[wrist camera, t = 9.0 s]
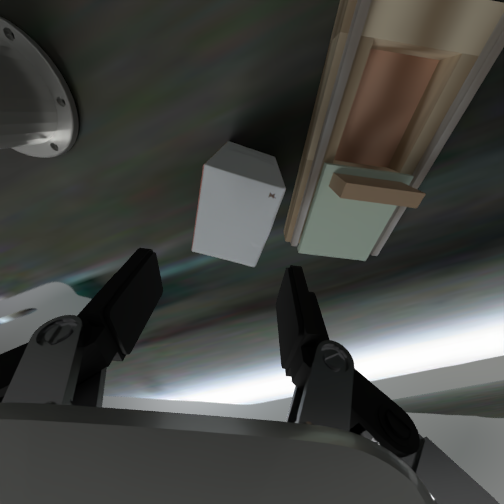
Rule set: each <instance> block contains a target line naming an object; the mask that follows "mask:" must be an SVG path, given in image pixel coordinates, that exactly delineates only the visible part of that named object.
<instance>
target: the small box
mask: <svg viewBox="0 0 504 504" xmlns="http://www.w3.org/2000/svg"><path fill="white" fill-rule="evenodd" d="M285 190H286V187H285V184H284V181H283V179H282V176H281V173H280V170H279V167H278V164H277V161H276V158H275V157H274V156H271V155H268V154H265V153H262V152H259V151H256V150H253V149H250V148H247V147H244V146H242V145H239V144H236V143H233V142H230V141H228V142H227V143H226V144H225V145H224V146H223V147H222V148H221V149H220V150H218V151H217V152H216V153H215V154H214V155H213V156H212V157H211V158H210V159H209V160H208V161H207V162H206V163H205V164H204V165H203V171H202V178H201V185H200V192H199V199H198V206H197V214H196V221H195V228H194V236H193V243H192V251H193V252H197V253H201V254H205V255H209V256H213V257H217V258H221V259H225V260H229V261H233V262H237V263H240V264H244V265H248V266H251V267H255V266H256V264H257V261H258V259H259V257H260V254H261V252H262V249H263V247H264V245H265V242H266V240H267V238H268V236H269V234H270V231H271V228H272V226H273V223H274V220H275V217H276V214H277V211H278V209H279V206H280V204H281V201H282V198H283V196H284V193H285Z"/></svg>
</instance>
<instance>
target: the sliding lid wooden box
mask: <svg viewBox="0 0 504 504" xmlns="http://www.w3.org/2000/svg"><path fill="white" fill-rule="evenodd" d="M503 47H504V3H502V2H497V1H492V0H340V3H339V7H338V11H337V15H336V19H335V23H334V27H333V31H332V36H331V40H330V44H329V48H328V52H327V56H326V60H325V64H324V68H323V72H322V76H321V80H320V85H319V89H318V93H317V97H316V101H315V105H314V109H313V113H312V117H311V121H310V125H309V129H308V134H307V138H306V142H305V146H304V150H303V154H302V158H301V162H300V166H299V170H298V174H297V178H296V183H295V187H294V191H293V195H292V199H291V203H290V207H289V211H288V215H287V219H286V223H285V227H284V236H285V240H286V241H287V242H291V246H297V244H298V243H300V239H301V236H302V233H303V230H304V226H305V223H306V220H307V217H308V214H309V210H310V207H311V204H312V201H313V197H314V194H315V191H316V188H317V184H318V181H319V178H320V175H321V172H322V168H323V165H324V162H325V163H332V164H339V165H346V166H353V167H360V168H367V169H374V170H382V171H389V172H396V173H403V174H409V175H411V176H414V177H413V179H412V181H411V183H410V184H409V186H411V187H413V188H415V189H418V188H419V186H420V184H421V183H422V181H423V179H424V178H425V176H426V174H427V173H428V171H429V169H430V168H431V166H432V164H433V163H434V161H435V159H436V158H437V156H438V154H439V153H440V151H441V150H442V148H443V146H444V145H445V143H446V141H447V140H448V138H449V136H450V135H451V133H452V131H453V130H454V128H455V126H456V125H457V123H458V121H459V120H460V118H461V116H462V115H463V113H464V112H465V110H466V108H467V107H468V105H469V103H470V102H471V100H472V98H473V97H474V95H475V93H476V92H477V90H478V88H479V87H480V85H481V83H482V82H483V80H484V78H485V77H486V75H487V74H488V72H489V70H490V69H491V67H492V65H493V64H494V62H495V60H496V59H497V57H498V55H499V54H500V52H501V50H502V49H503ZM405 209H406V207H404V206H397V207H396V209H395V210H394V212H393V214H392V216H391V217H390V219H389V221H388V223H387V224H386V226H385V228H384V230H383V231H382V233H381V235H380V237H379V238H378V240H377V242H376V244H375V245H374V247H373V249H372V251H371V252H370V254H371V255H374V256H377V255H378V254H379V252H380V250H381V249H382V247H383V245H384V244H385V242H386V240H387V239H388V237H389V235H390V234H391V232H392V231H393V229H394V227H395V226H396V224H397V222H398V221H399V219H400V217H401V216H402V214H403V212H404V211H405Z"/></svg>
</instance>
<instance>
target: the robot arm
mask: <svg viewBox="0 0 504 504" xmlns="http://www.w3.org/2000/svg"><path fill="white" fill-rule="evenodd" d="M78 127H79V122H78V113H77V109H76V106H75V102H74V99H73V97H72V94H71V92H70V90H69V87H68V85H67V83H66V82H65V80H64V78H63V76H62V75H61V73H60V71H59V70H58V68H57V67H56V66H55V64H54V63H53V61H52V60H51V59H50V57H49V56H48V55H47V54H46V53H45V52H44V51H43V49H42V48H41V47H40V46H39V45H38V44H37V43H36V42H35V41H34V40H33V39H32V38H31V37H29V36H28V35H27V34H26V33H25V32H24V31H23V30H21V29H20V28H18V27H17V26H16V25H14V24H13V23H11V22H10V21H8V20H7V19H5V18H3V17H1V16H0V149H4V148H12V149H14V150H16V151H18V152H21V153H23V154H26V155H30V156H34V157H42V158H48V157H54V156H58V155H61V154H64V153H66V152H67V151H68V150H70V149H71V148H72V146H73V145H74V143H75V141H76V138H77V135H78ZM162 292H163V287H162V282H161V276H160V271H159V266H158V261H157V256H156V253H155V252H153V251H152V249H145V248H139V249H137V251H136V252H135V253H134V254H133V255H132V256H131V257H130V258H129V260H128V261H127V262H126V263H125V264H124V265H123V266H122V267H121V268H120V270H119V271H118V272H117V273H115V274H114V275H113V277H112V278H111V279H110V280H109V281H108V282H107V283H106V284H105V285H104V287H103V288H102V289H101V290H100V291H99V292H98V293H97V294H96V295H95V297H94V298H93V299H92V300H91V301H90V302H89V303H88V304H87V305H86V307H85V308H84V309H83V310H82V311H81V312H80V313H79V314H78V315H77V316H75V315H64V316H60V317H57V318H54V319H52V320H50V321H48V322H46V323H45V324H43V325H42V326H40V327H39V328H38V329H37V330H36V331H35V332H34V334H33V335H32V337H31V339H30V341H29V342H28V343H26V344H24V345H21V346H19V347H17V348H14V349H12V350H10V351H8V352H5V353H3V354H0V504H499V503H498V502H497V501H496V500H495V499H494V498H493V497H492V496H491V495H490V494H489V493H488V492H487V491H486V490H484V489H483V488H482V487H481V486H480V485H479V484H478V483H477V482H476V481H474V480H473V479H472V478H471V477H470V476H469V475H468V474H467V473H466V472H465V471H464V470H462V469H461V468H460V467H459V466H458V465H457V464H456V463H454V461H453V460H451V459H450V458H449V457H448V456H447V455H446V454H445V453H444V452H443V451H442V450H440V449H439V448H438V447H437V446H436V445H435V444H434V443H433V442H432V441H430V440H429V439H428V438H427V437H425V438H423V437H422V436H421V435H420V434H418V430H417V429H416V427H415V425H414V423H413V421H412V420H411V418H410V417H409V416H408V414H407V413H406V412H405V411H404V410H403V409H402V408H401V407H399V406H398V405H397V404H396V403H395V402H393V401H392V400H391V399H390V398H389V397H388V396H386V395H385V394H384V393H383V392H382V391H380V390H379V389H378V388H377V387H376V386H374V385H373V384H372V383H371V382H370V381H368V380H367V379H366V378H365V377H364V376H363V375H361V374H360V373H359V372H358V371H357V370H355V369H354V362H353V359H352V357H351V355H350V353H349V352H348V350H347V349H346V348H344V347H343V346H342V345H341V344H339V343H337V342H335V341H332V340H329V337H328V334H327V330H326V327H325V324H324V321H323V318H322V314H321V311H320V308H319V305H318V302H317V298H316V296H315V293H314V292H309V291H308V287H307V284H306V280H305V277H304V273H303V270H302V267H301V266H293V265H291V266H290V268H286V270H285V274H284V277H283V281H282V284H281V288H280V291H279V294H278V298H277V302H276V311H277V322H278V333H279V344H280V355H281V365H282V368H284V369H285V370H286V376H292V382H293V383H294V384H295V385H296V387H295V391H294V394H293V398H292V401H291V404H290V408H289V411H288V415H287V418H286V422H280V421H268V420H256V419H244V418H232V417H220V416H206V415H194V414H182V413H181V414H180V413H169V412H155V411H142V410H129V409H115V408H102V401H103V393H104V385H105V377H106V369H107V367H108V366H109V365H110V363H111V361H112V360H113V361H123V360H124V358H125V356H126V354H130V353H131V351H132V349H133V348H134V346H135V344H136V342H137V340H138V338H139V336H140V334H141V333H142V331H143V329H144V327H145V325H146V323H147V321H148V320H149V318H150V316H151V314H152V312H153V310H154V308H155V307H156V305H157V303H158V301H159V299H160V297H161V295H162Z"/></svg>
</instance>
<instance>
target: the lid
mask: <svg viewBox="0 0 504 504" xmlns="http://www.w3.org/2000/svg"><path fill="white" fill-rule="evenodd" d="M413 177H414V176H411V175H409V174H403V173H396V172H389V171H382V170H374V169H367V168H360V167H353V166H346V165H339V164H332V163H325V162H324V165H323V168H322V172H321V175H320V178H319V181H318V184H317V188H316V191H315V194H314V197H313V201H312V204H311V207H310V210H309V214H308V217H307V220H306V223H305V226H304V230H303V233H302V236H301V239H300V243H299V246H298V253H303V254H312V255H320V256H329V257H337V258H346V259H354V260H362V261H366V259H367V257H368V256H369V254H370V252H371V251H372V249H373V247H374V245H375V244H376V242H377V240H378V238H379V237H380V235H381V233H382V231H383V230H384V228H385V226H386V224H387V223H388V221H389V219H390V217H391V216H392V214H393V212H394V210H395V209H396V207H397V206H404V207H411V208H417V207H418V206H419V204H420V202H421V201H422V199H423V198H424V196H425V195H426V194H425V193H423V192H421V191H419V190H417V189H415V188H413V187H411V186H409V184H410V183H411V181H412V179H413Z"/></svg>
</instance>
